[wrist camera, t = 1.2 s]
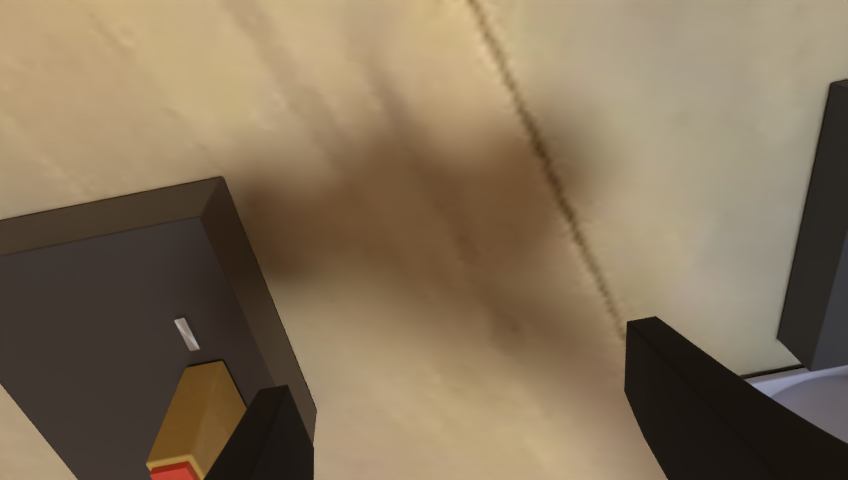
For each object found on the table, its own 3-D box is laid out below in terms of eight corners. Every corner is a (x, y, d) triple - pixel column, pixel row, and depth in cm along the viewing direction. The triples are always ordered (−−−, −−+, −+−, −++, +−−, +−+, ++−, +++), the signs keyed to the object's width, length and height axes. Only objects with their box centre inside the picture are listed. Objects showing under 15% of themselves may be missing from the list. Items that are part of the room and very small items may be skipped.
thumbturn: (268, 450, 22) (248, 558, 18) (234, 457, 22) (206, 565, 18) (223, 359, 19) (188, 462, 15) (184, 366, 19) (141, 471, 16)
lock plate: (320, 419, 25) (315, 479, 23) (132, 455, 26) (104, 519, 23) (222, 175, 19) (198, 218, 16) (-28, 225, 19) (-94, 276, 16)
